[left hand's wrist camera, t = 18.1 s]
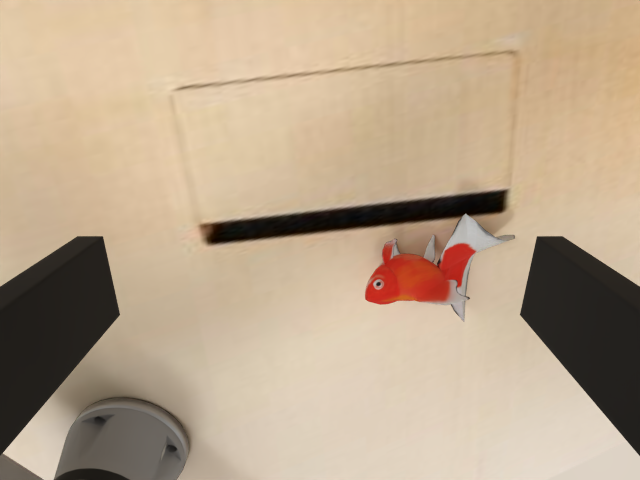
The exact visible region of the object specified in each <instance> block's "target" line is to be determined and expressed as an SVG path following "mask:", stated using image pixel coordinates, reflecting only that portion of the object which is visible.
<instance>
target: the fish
mask: <svg viewBox="0 0 640 480" xmlns="http://www.w3.org/2000/svg"><path fill="white" fill-rule="evenodd" d="M512 239H515V236H514V235H503V236H499V237H495V236H493V235H492V234H490V233H489V232H487V231H486V230H484V229H483V228H482V227H481V226H480V225H479V224H478V223H477V222H476V221H475V220H474V219H472V218H471V217H469V216H468V215H467V214H465V215H464V216H463V217H462V218H461V219H460V220H459V221H458V224H457V226H456V228H455V230H454V232H453V234H452V236H451V238H450V240H449V241H448V243H447V245H446V247H445V249H444V251H443V253H442V255H441V257H440V259H439V261H438V263H437V266H436V265H435V264H433V262H434V260H435V236H434V235H433V236H432V238H431V240H430V242H429V244H428V246H427V248H426V251H425V254H424V257H421V256H418V255H414V254H400V252H399V250H398V248H397V245H396V242H397V239H393V240H392V241H390V242H386V244H385V245H384V248H383V250H382V258H383V263H382V264H381V265H380V266H379V267H378V268H377V269H376V270H375V272H374V273H373V275H372V276H371V278H370V279H369V281H368V283H367V286H366V291H365V299H366V300H367V301H369V302H373V303H377V304H389V303H393V302H395V301H413V300H415V301H418V302H424V303H432V304H440V305H449V304H451V306H452V307H453V309H454V311H455V312H456V313H457V315H458V316H459V317H460V318H461V319H462V320H463V321H464V316H465V300H468V299H470V298H469V297H466V288H467V279H468V274H469V269H470V264H471V261H472V259H473V256H474V255H475V254H476V253H477V252H480V251H482V250H484V249H487V248H489V247H492V246H495V245H498V244H500V243H503V242H506V241H508V240H512Z"/></svg>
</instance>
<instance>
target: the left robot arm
mask: <svg viewBox="0 0 640 480" xmlns="http://www.w3.org/2000/svg"><path fill="white" fill-rule="evenodd" d="M119 315H120V313H119V308H118V304H117V299H116V294H115V290H114V285H113V281H112V276H111V271H110V267H109V262H108V258H107V253H106V249H105V244H104V239H103V236H77V237H76V238H74V239H73V240H71V241H70V242H68V243H67V244H65V245H64V246H62V247H61V248H59V249H58V250H56V251H54V252H53V253H51V254H50V255H48V256H47V257H45V258H44V259H42V260H41V261H39V262H38V263H36V264H34V265H33V266H31V267H30V268H28V269H27V270H25V271H24V272H22V273H21V274H19V275H18V276H16V277H14V278H13V279H11V280H10V281H8V282H7V283H5V284H4V285H2V286H1V287H0V480H43V479H42V478H40V477H39V476H37V475H35V474H34V473H32V472H31V471H29V470H28V469H26V468H25V467H23V466H21V465H20V464H18V463H17V462H15V461H14V460H12V459H10V458H9V457H7V456H6V455H4V454H3V452H4V451H5V450H6V448H7V447H8V446H9V445H10V444H11V443H12V441H13V440H14V439H15V438H16V437H17V435H18V434H19V433H20V432H21V431H22V430H23V428H24V427H25V426H26V425H27V424H28V423H29V421H30V420H31V419H32V418H33V417H34V415H35V414H36V413H37V412H38V411H39V410H40V408H41V407H42V406H43V405H44V404H45V402H46V401H47V400H48V399H49V398H50V397H51V395H52V394H53V393H54V392H55V391H56V389H57V388H58V387H59V386H60V385H61V384H62V382H63V381H64V380H65V379H66V378H67V377H68V375H69V374H70V373H71V372H72V371H73V369H74V368H75V367H76V366H77V365H78V364H79V362H80V361H81V360H82V359H83V358H84V356H85V355H86V354H87V353H88V352H89V351H90V349H91V348H92V347H93V346H94V345H95V344H96V342H97V341H98V340H99V339H100V338H101V336H102V335H103V334H104V333H105V332H106V331H107V329H108V328H109V327H110V326H111V325H112V323H113V322H114V321H115V320H116V319H117V318H118V316H119ZM520 315H521V316H522V318H523V319H524V320H525V321H526V322H527V323H528V325H529V326H530V327H531V328H532V329H533V331H534V332H535V333H536V334H537V335H538V336H539V338H540V339H541V340H542V341H543V342H544V344H545V345H546V346H547V347H548V348H549V349H550V351H551V352H552V353H553V354H554V355H555V356H556V358H557V359H558V360H559V361H560V362H561V364H562V365H563V366H564V367H565V368H566V369H567V371H568V372H569V373H570V374H571V375H572V377H573V378H574V379H575V380H576V381H577V382H578V384H579V385H580V386H581V387H582V388H583V389H584V391H585V392H586V393H587V394H588V395H589V397H590V398H591V399H592V400H593V401H594V402H595V404H596V405H597V406H598V407H599V408H600V410H601V411H602V412H603V413H604V414H605V415H606V417H607V418H608V419H609V420H610V421H611V423H612V424H613V425H614V426H615V427H616V428H617V430H618V431H619V432H620V433H621V434H622V435H623V437H624V438H625V439H626V440H627V441H628V443H629V444H630V445H631V446H632V447H633V448H634V450H635V451H636V452H637V453H638V454H639V455H640V287H639V286H638V285H636V284H635V283H633V282H632V281H630V280H629V279H627V278H626V277H624V276H622V275H621V274H619V273H618V272H616V271H615V270H613V269H612V268H610V267H609V266H607V265H606V264H604V263H602V262H601V261H599V260H598V259H596V258H595V257H593V256H592V255H590V254H589V253H587V252H586V251H584V250H582V249H581V248H579V247H578V246H576V245H575V244H573V243H572V242H570V241H569V240H567V239H566V238H564V237H563V236H537V239H536V244H535V249H534V253H533V258H532V262H531V267H530V271H529V276H528V281H527V285H526V290H525V294H524V299H523V304H522V308H521V313H520ZM188 453H189V442H188V438H187V435H186V433H185V431H184V429H183V427H182V426H181V425H180V423H179V422H178V421H177V420H176V419H175V418H174V417H173V416H172V415H170V414H169V413H168V412H166V411H165V410H163V409H161V408H160V407H158V406H156V405H153V404H151V403H148V402H145V401H141V400H137V399H131V398H111V399H106V400H102V401H99V402H96V403H94V404H92V405H90V406H89V407H87V408H86V409H85V410H83V412H82V413H81V414H80V415H79V416H78V418H77V419H76V420H75V422H74V423H73V425H72V426H71V428H70V430H69V432H68V434H67V437H66V440H65V443H64V447H63V450H62V454H61V457H60V461H59V464H58V468H57V471H56V474H55V478H54V480H177V478H178V477H179V475H180V474H181V472H182V470H183V468H184V465H185V462H186V459H187V457H188Z"/></svg>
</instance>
